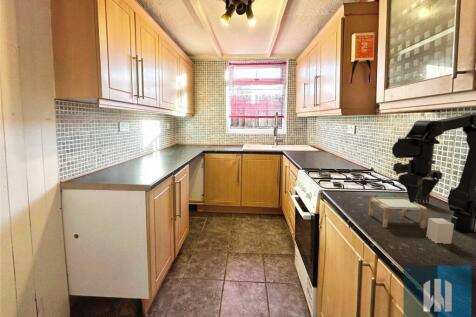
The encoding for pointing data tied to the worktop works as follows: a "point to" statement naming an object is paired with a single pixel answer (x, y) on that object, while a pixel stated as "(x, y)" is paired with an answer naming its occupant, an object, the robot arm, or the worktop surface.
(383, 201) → the trapdoor
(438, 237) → the stone block
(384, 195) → the disk drive
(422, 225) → the frame
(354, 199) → the worktop surface
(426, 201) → the battery charger
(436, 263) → the worktop surface
